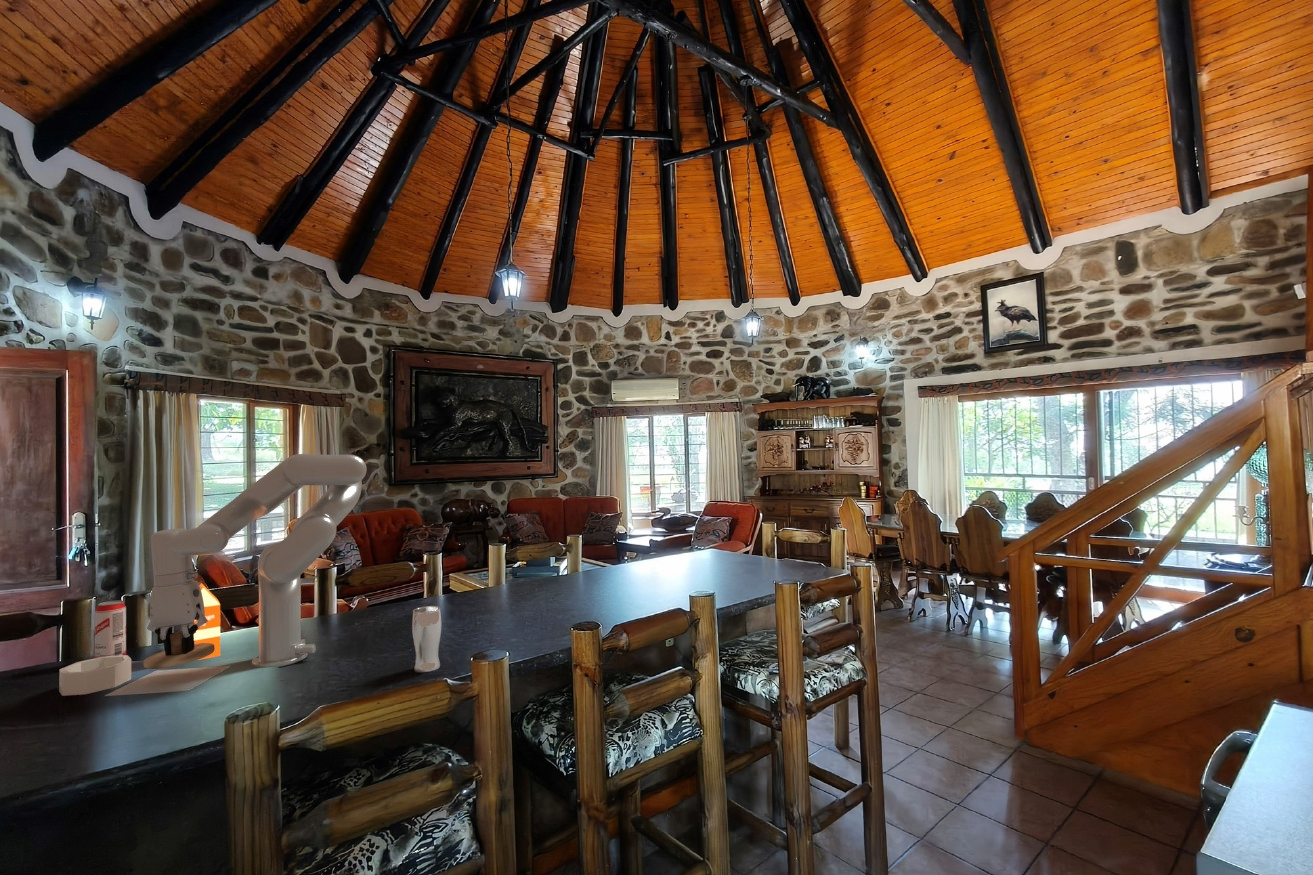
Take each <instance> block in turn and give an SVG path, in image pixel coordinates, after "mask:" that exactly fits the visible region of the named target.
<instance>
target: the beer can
mask: <svg viewBox="0 0 1313 875" xmlns="http://www.w3.org/2000/svg"><path fill="white" fill-rule="evenodd" d="M113 653H115V654H113ZM100 655H106V656H120V655H127V606H126V605H125V603H124V600H121V599H119V600H109V601H104V602H100V603H98V604H97V607H96V609H95V611H94V659H95V658H100V657H105V656H100Z"/></svg>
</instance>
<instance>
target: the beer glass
mask: <svg viewBox="0 0 1313 875" xmlns="http://www.w3.org/2000/svg"><path fill="white" fill-rule="evenodd" d="M411 626H412V627H411V629H412V630H411V631H412V632H411V633H412V638H413V644H414V645H413V646H414V649H415V662H414V663H415V664H414V672H416V673H429V672H434V671H436V670H438V669H439V668H440V666H441V663H440V659H439V648H440V647H439V646H440V641H441V636H442V635H441V633H442V614H441V607H440V606H438V605H428V606H425V605H424V606H421V607H420V606H419V607H416V608H415V609H413V610H412V624H411Z"/></svg>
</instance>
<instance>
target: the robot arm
mask: <svg viewBox="0 0 1313 875" xmlns="http://www.w3.org/2000/svg"><path fill="white" fill-rule="evenodd" d="M367 471H368V470H367V465H366V463H365V461H364V459H362V458H361V457H360V456H357V455H354V454H314V453H313V454H310V453H299V454H293V455H290V456H288V457H287V458H285V459H284V460H283V461H281V462H280V463H279V464H278V465H277V466H274V467H273V468H272V469H271V470H270V471H268V472H267V473H265V474H264V475H263V476H262V477H261V478H259V479H258V480H256V481H255V482H254V483H253V484H251V485H249V486H248V487H247V488H246V489H244V490H243V491H241V493H239V494H238V496H236V497H235V498H234V499H232V500H231V501H230V502H228V503H226V505H224V506H223V507H222V508H221V509H219V510H218V511H216V512H214V514H212V515H211V516H210V517H208V518H207V519H206V520H204V521H203V522H202V523H201V524H199V525H198V526H197V527H194V528H190V529H187V528H171V529H163V530H162V529H161V530H159V531H156V532H153V534H152V535H151V536H150V546H151V547H150V548H151V558H152V573H153V584H154V587H152V588H151V593H150V599H149V619H150V620H149V623H148V625H147V627H146V629H147V630H148V631H151V632H153V633H155V634H156V635H158V636H159V637H160V640H162V641H163V649H164V650H163V651H165V655H166V656H169V655H171V654H172V653H171V640H170V634H172V633H175V627H176V626H177V627H178V626H181V631H183V635H184V637H183V638H182V639H181V642H182V653H183V654H187V653H188V652H190V651H192V650H194V634H195V633H196V631H197V630H198V629H199V628H200V627H201V626H203V625H204V624H206V623H207V622H208V620H207V618H206V617H205V608H204V601H203V596H202V592H201V589H200V586H199V585H200V583H199V582H198V580H195V579H197V578H198V577H199V573H198V572H194V569H193V568H194V567H193V566H194V565H193V563H194V562H193V556H210V555H215V554H218V553H220V552H221V551H222V552H223V550H225V548H226V547H227V546H228V543H229V541H230V539H231V538H232V537H234V536H235V535H236V534H237V533H239V532H240V531H241V530H242V529H244V528H245V527H247V526H248V525H249V524H251V523H253V522H255V520H257V519H260V518H261V517H264V516H267V515H268V514H271V513H272V512H273V511H274V510H276V509H277V508H278V507H279V506H281V504H283V503H284V502H286V501H288V499H289V498H291V497H292V496H293V495H294V494H295V493H297V492H298V491H299V490H301V489H302V488H303V487H304V486H329V487H328V488H327V490H326V492H325V493H323V495H322V496H321V497H320V498H319V499H318V500H317V501H316V502H315V503H314V504H312V506H311V507H310V508H309V509H307V511H305V512H304V514H302V515H301V516H300V517H299V518H297V519H296V521H295V522H294V524H293V526H292V529H291V530H292V531H291V532H290V533H288V534H287V535H286V537H285V538H283V540H282V541H281V542H275V543H272V544H270V545H268V546H266V547H265V548H264V549H263V550H262V552H261V553H260V555H259V557H258V561H257V575H258V577H257V578H258V656H256V657H254V658H253V659H252V660H251V666H254V667H256V668H257V667H258V668H270V667H278V668H279V667H284V666H289V665H292V664H296V663H298V662H300V661H302V660H304V659H306V658H307V657H308V654H314V653H315V652H316V649H317V648H316V643H308V644H307V643H306V638H304V639H303V638H302V631H301V630H302V629H301V628H302V626H301V623H302V620H301V619H302V618H301V617H302V615H301V614H302V612H301V607H302V606H301V604H302V603H301V600H302V596H301V594H302V591H301V589H302V588H301V586H302V585H301V583H302V582H301V575H302V574H303V573H304V572H305V571H307V569H308V568H309V567H310V566H312V564H313V563H314V562H316V560H317V559H319V557H320V556H321V555H322V554H323V553H325V551H327V549H328V548H329V547H330V546H331V544H332V543H333V541H335V538H336V535H337V526H339V525H340V524H341V522H343V520H344V519H345V518H346V516H348V514H349V513H351V511H352V510H353V509H354V507H355V506H356V505H357V504H358V501H359V500H360V497H361V493H362V487H363V485H362V480H363V479H364V478H365V476H366V475H367ZM195 620H197V621H198V622H197V623H196V624H195V623H194V621H195Z"/></svg>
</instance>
